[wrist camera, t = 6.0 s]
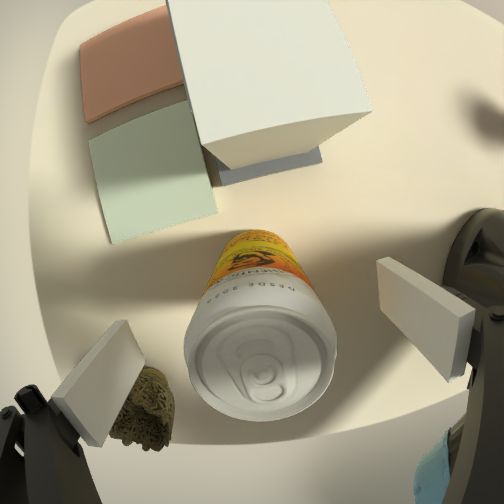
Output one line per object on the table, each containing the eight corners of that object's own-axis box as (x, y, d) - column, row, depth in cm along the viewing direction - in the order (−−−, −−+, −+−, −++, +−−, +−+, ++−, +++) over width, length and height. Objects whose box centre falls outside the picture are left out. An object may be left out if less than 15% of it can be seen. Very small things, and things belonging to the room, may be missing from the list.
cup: (188, 360, 26) (169, 414, 18) (185, 408, 28) (171, 459, 20) (121, 343, 26) (87, 388, 18) (126, 392, 27) (100, 437, 20)
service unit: (318, 163, 22) (403, 135, 8) (224, 186, 22) (179, 182, 9) (262, -1, 18) (268, -103, 4) (181, 17, 18) (136, -77, 5)
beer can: (283, 220, 23) (333, 274, 8) (299, 287, 24) (350, 407, 10) (212, 238, 23) (151, 318, 9) (232, 303, 25) (210, 435, 10)
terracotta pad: (185, 82, 20) (183, 79, 19) (89, 123, 21) (85, 121, 20) (169, 8, 18) (167, 4, 17) (83, 47, 19) (79, 45, 18)
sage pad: (218, 212, 23) (217, 213, 22) (116, 242, 23) (112, 244, 23) (190, 102, 21) (188, 99, 20) (92, 141, 21) (88, 140, 20)
